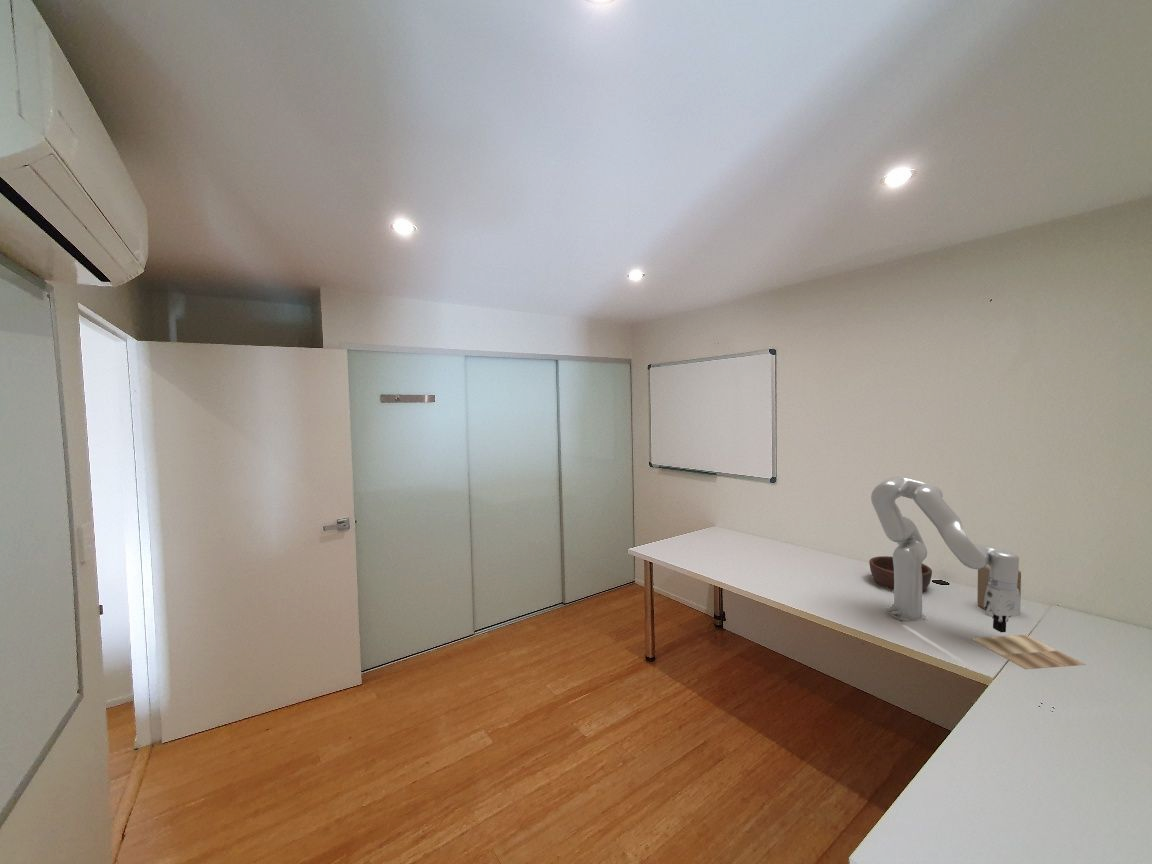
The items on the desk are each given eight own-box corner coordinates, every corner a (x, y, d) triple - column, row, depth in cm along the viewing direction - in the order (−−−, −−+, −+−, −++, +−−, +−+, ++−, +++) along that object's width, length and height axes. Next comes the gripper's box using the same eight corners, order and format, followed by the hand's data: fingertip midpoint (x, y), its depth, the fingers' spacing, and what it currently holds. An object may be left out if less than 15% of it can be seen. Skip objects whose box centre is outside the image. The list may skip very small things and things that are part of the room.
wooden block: (1021, 617, 175) (1022, 571, 173) (993, 615, 177) (994, 570, 175) (1002, 606, 184) (1003, 562, 183) (976, 604, 186) (976, 561, 185)
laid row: (1025, 673, 140) (1025, 668, 140) (999, 658, 148) (1000, 654, 148) (1086, 668, 141) (1086, 664, 141) (1058, 654, 149) (1058, 650, 149)
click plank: (998, 658, 148) (999, 654, 148) (971, 642, 158) (971, 638, 158) (1056, 654, 149) (1057, 650, 149) (1025, 638, 159) (1025, 634, 159)
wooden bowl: (913, 575, 219) (913, 556, 218) (944, 597, 195) (944, 576, 194) (860, 573, 225) (860, 555, 224) (883, 594, 200) (883, 573, 200)
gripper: (994, 589, 151) (990, 636, 153) (1032, 587, 152) (1029, 635, 154) (973, 580, 159) (970, 625, 160) (1010, 578, 159) (1007, 624, 161)
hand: (999, 630), depth 157 cm, fingers closed
